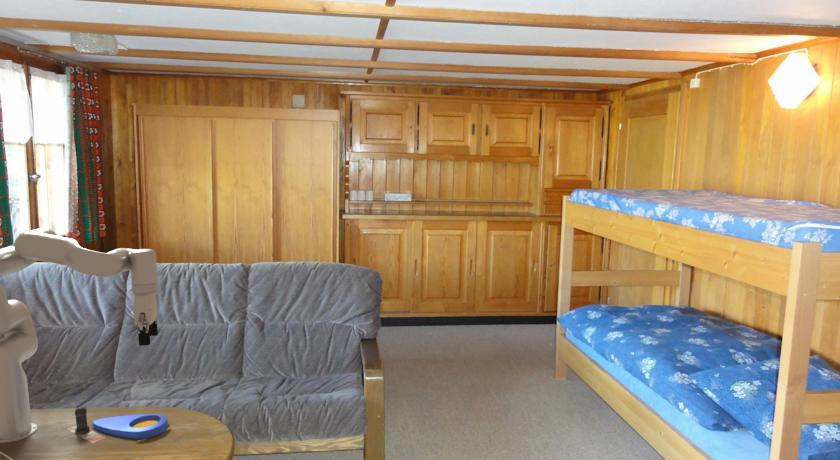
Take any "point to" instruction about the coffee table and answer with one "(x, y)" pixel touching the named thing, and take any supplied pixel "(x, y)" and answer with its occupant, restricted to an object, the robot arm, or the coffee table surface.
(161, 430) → the location marker
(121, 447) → the coffee table surface
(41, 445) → the coffee table surface
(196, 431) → the coffee table surface
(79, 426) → the pawn
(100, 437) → the board
